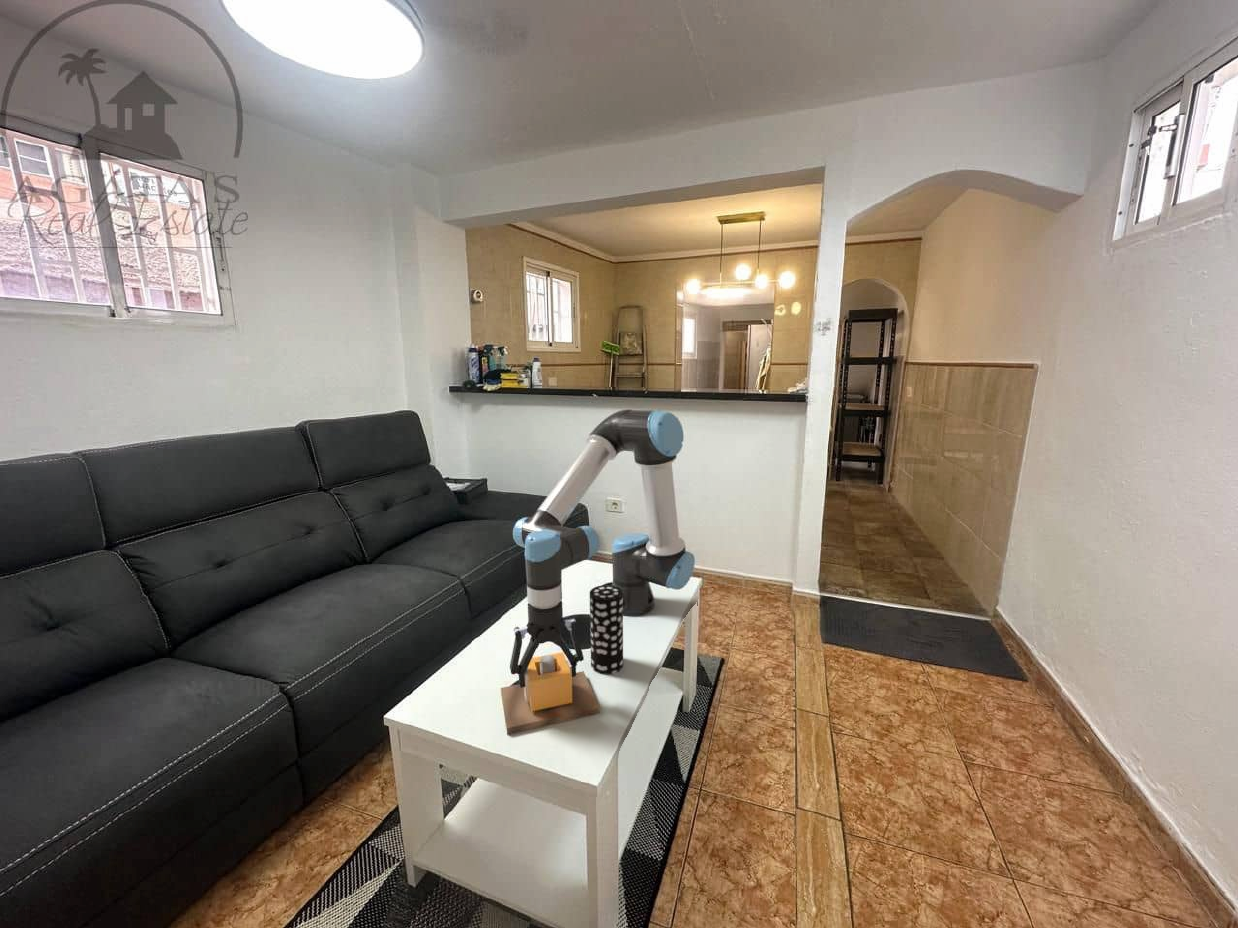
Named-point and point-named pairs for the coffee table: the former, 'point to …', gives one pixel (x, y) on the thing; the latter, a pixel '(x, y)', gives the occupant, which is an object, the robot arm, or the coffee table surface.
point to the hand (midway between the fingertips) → (548, 693)
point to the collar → (549, 684)
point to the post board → (525, 719)
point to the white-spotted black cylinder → (606, 629)
